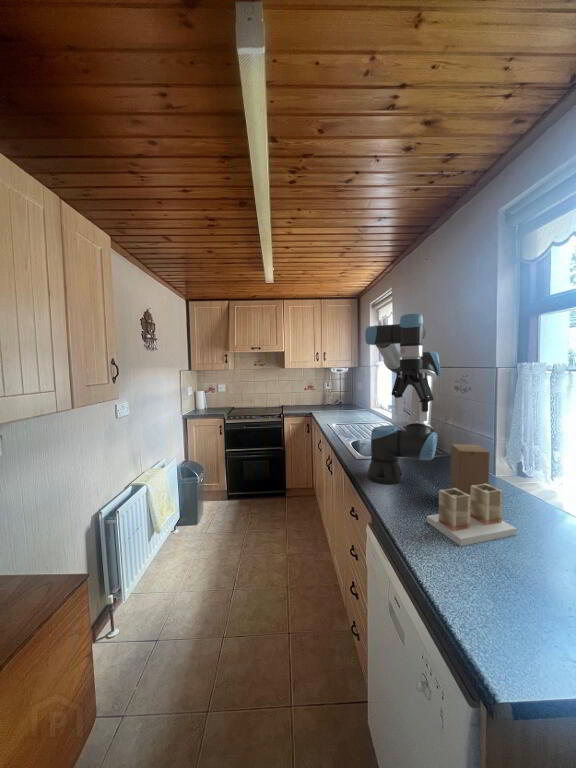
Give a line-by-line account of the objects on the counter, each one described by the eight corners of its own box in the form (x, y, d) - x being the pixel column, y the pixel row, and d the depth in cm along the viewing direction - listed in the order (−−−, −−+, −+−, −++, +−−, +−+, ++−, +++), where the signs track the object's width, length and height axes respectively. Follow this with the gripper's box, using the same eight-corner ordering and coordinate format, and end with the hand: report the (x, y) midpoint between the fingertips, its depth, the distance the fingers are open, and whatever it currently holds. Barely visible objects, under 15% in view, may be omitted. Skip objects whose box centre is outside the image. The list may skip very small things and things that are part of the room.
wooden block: (488, 507, 111) (490, 451, 110) (457, 505, 113) (458, 450, 112) (477, 495, 121) (478, 444, 119) (449, 493, 123) (450, 443, 121)
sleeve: (438, 521, 98) (439, 490, 97) (454, 518, 100) (455, 487, 99) (453, 531, 92) (453, 498, 92) (470, 528, 94) (470, 495, 93)
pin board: (426, 521, 102) (427, 488, 101) (477, 513, 107) (478, 481, 106) (460, 546, 88) (461, 508, 88) (516, 534, 93) (517, 498, 93)
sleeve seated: (470, 515, 101) (470, 485, 100) (485, 513, 103) (485, 483, 102) (486, 525, 95) (486, 493, 95) (501, 522, 97) (502, 490, 96)
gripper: (382, 359, 123) (382, 413, 124) (425, 358, 99) (424, 424, 100) (399, 358, 124) (399, 411, 126) (445, 357, 100) (444, 423, 102)
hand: (410, 417), depth 113 cm, fingers open, 13 cm apart
